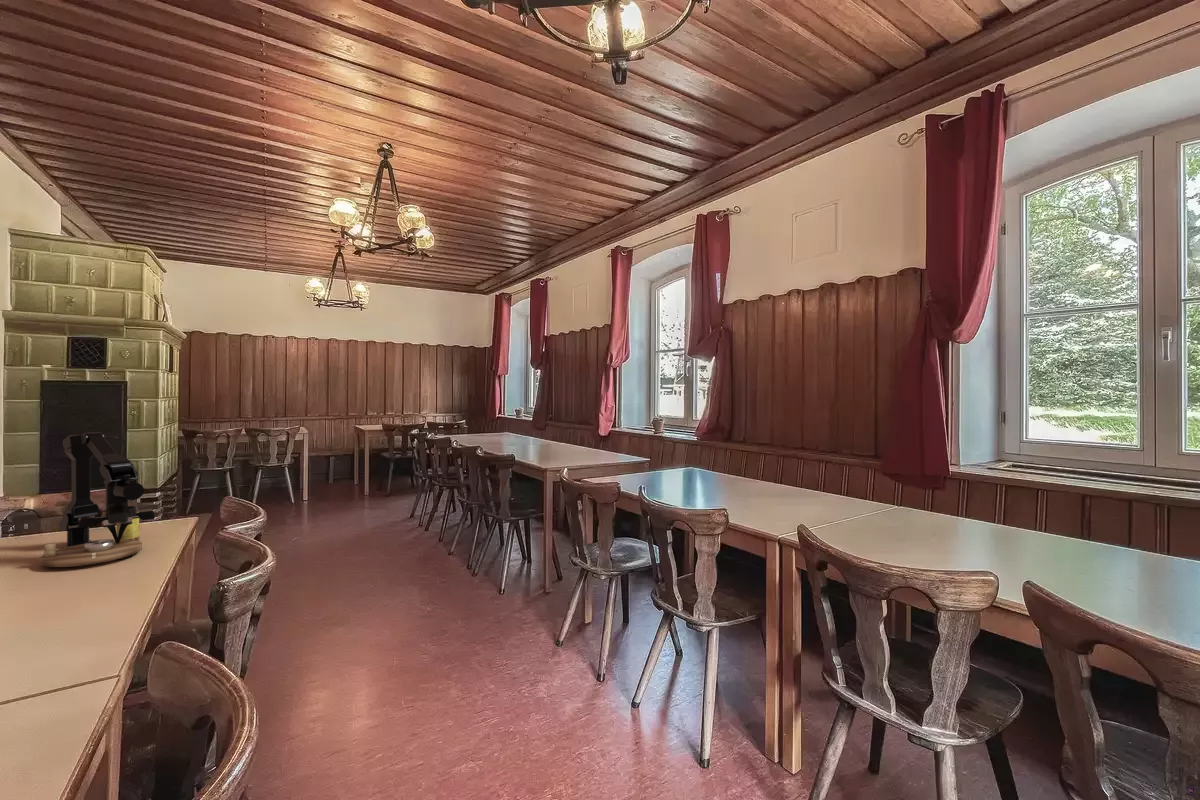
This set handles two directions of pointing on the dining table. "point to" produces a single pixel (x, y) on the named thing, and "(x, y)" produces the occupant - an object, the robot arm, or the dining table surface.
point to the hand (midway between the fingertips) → (117, 543)
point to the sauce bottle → (131, 527)
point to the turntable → (86, 554)
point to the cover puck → (99, 545)
